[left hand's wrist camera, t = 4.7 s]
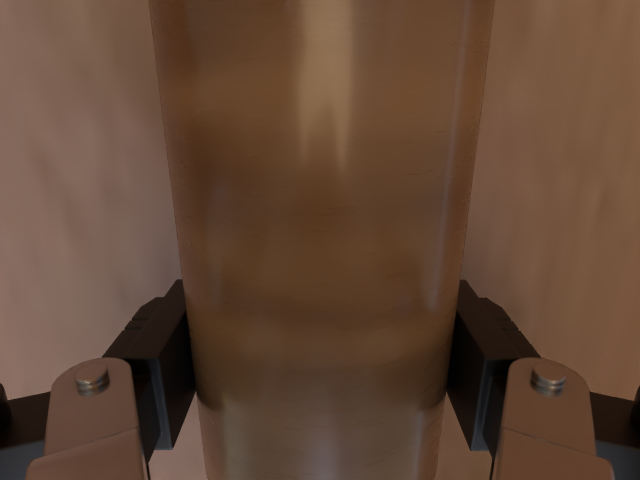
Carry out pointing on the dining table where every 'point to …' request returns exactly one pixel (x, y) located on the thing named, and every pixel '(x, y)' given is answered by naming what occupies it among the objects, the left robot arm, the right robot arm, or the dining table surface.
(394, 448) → the rod
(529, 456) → the left robot arm
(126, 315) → the dining table surface
